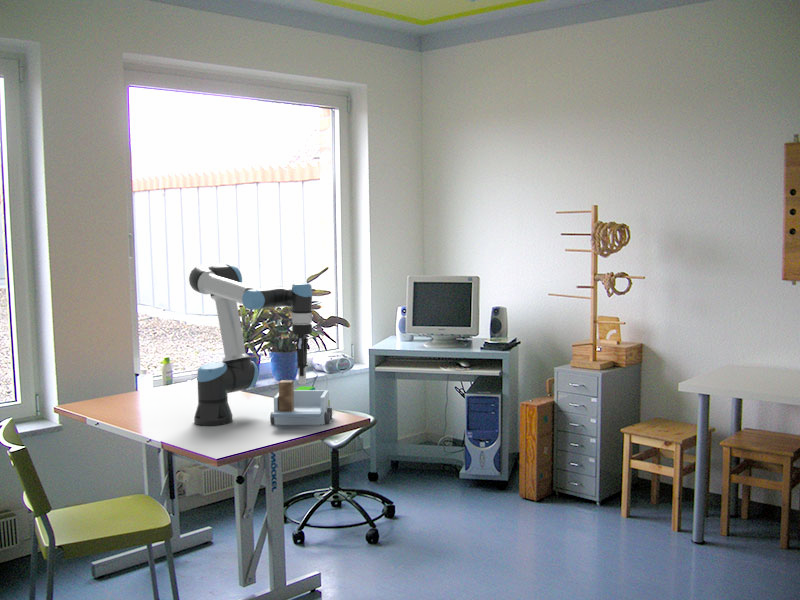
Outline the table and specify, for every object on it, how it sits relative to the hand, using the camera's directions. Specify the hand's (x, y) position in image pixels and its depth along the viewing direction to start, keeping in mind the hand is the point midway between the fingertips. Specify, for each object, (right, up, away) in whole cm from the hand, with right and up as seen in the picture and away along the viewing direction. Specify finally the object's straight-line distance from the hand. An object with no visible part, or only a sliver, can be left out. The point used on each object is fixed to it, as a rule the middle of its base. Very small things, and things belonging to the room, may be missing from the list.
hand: (302, 383), depth 297 cm
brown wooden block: (-8, -12, +11) cm, 18 cm away
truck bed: (-2, -17, +15) cm, 23 cm away
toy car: (0, -16, +32) cm, 35 cm away
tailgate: (-2, -12, +7) cm, 14 cm away
